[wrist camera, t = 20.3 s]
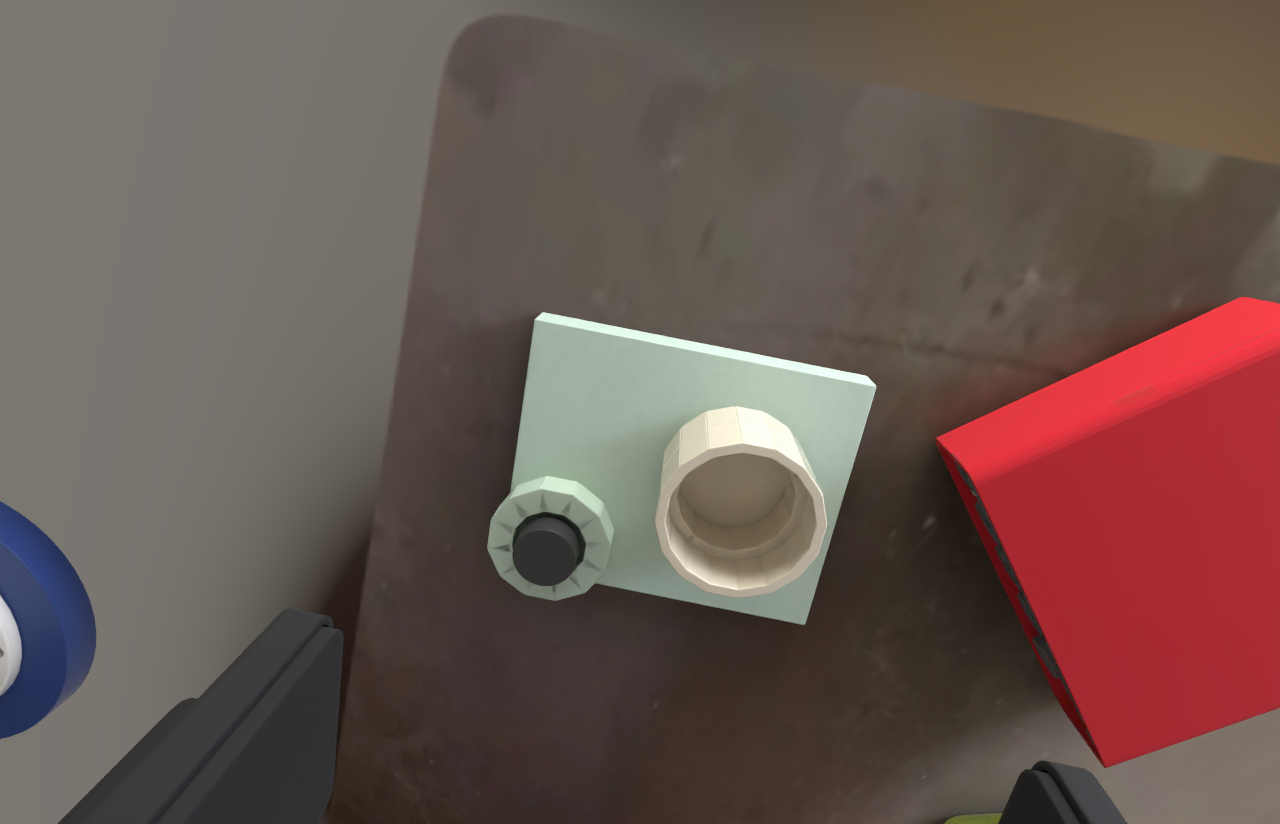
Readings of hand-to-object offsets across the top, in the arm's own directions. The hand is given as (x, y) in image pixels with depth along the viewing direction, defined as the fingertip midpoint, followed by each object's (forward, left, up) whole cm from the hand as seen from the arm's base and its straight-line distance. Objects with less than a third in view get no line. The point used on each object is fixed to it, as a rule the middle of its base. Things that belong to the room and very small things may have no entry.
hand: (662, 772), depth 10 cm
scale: (+1, -6, -26) cm, 27 cm away
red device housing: (+24, -4, -26) cm, 36 cm away
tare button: (-5, -10, -23) cm, 26 cm away
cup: (+4, -5, -24) cm, 25 cm away
